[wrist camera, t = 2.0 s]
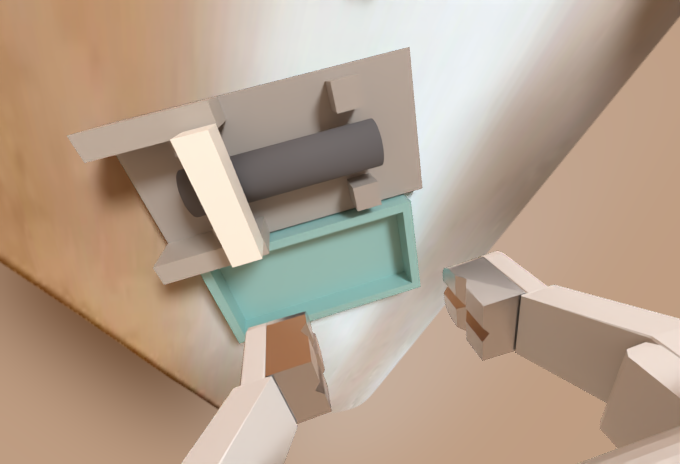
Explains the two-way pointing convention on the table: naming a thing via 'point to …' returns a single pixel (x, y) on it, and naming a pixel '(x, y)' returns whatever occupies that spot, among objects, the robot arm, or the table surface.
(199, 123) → the cradle
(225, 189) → the cream square beam
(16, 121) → the table surface
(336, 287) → the tray
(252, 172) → the dark grey cylinder
